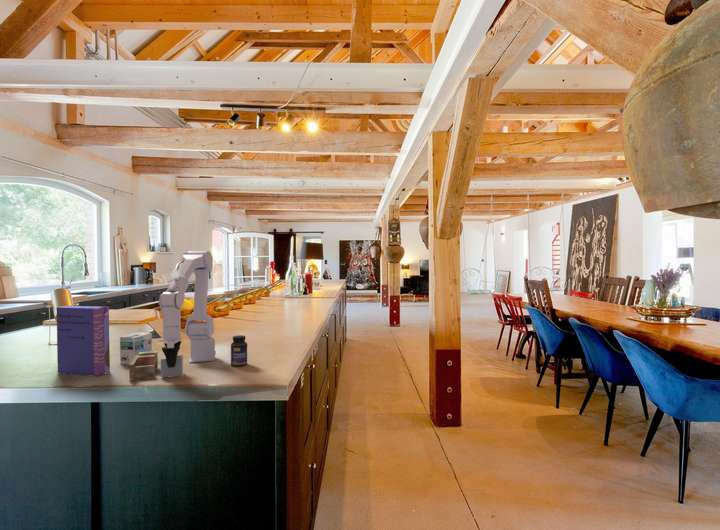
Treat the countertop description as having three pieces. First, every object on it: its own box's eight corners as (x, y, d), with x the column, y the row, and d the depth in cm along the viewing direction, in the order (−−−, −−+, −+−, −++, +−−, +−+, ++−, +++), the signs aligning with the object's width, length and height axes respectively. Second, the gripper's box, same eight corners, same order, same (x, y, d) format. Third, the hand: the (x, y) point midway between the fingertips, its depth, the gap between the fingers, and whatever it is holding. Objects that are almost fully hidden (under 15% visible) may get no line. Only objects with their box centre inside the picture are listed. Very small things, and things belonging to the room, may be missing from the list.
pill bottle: (232, 367, 152) (232, 338, 152) (229, 364, 158) (229, 335, 158) (249, 365, 155) (248, 337, 155) (245, 362, 161) (245, 334, 161)
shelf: (157, 367, 153) (157, 350, 153) (153, 378, 139) (153, 359, 139) (136, 369, 150) (135, 352, 150) (129, 381, 137) (129, 361, 136)
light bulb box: (135, 365, 157) (134, 337, 157) (119, 364, 158) (119, 337, 158) (153, 358, 168) (152, 332, 168) (138, 357, 169) (137, 331, 168)
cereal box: (109, 372, 147) (108, 306, 147) (98, 376, 143) (97, 307, 142) (69, 369, 151) (68, 305, 150) (57, 373, 146) (56, 306, 146)
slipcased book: (183, 373, 146) (183, 355, 146) (183, 376, 142) (182, 357, 142) (161, 375, 143) (161, 357, 143) (160, 378, 140) (160, 359, 139)
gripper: (161, 323, 148) (161, 360, 148) (156, 329, 134) (157, 371, 134) (182, 322, 150) (182, 359, 150) (180, 328, 137) (180, 368, 137)
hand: (172, 364), depth 142 cm, fingers open, 7 cm apart
